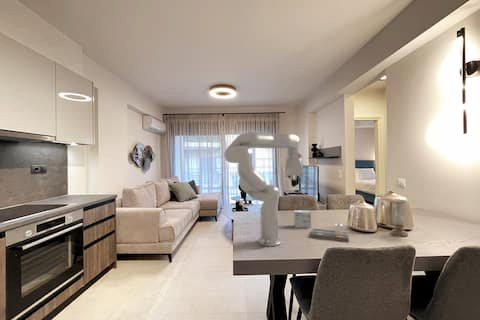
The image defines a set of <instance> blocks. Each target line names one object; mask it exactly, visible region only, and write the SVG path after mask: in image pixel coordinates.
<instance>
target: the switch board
mask: <svg viewBox="0 0 480 320" xmlns="http://www.w3.org/2000/svg"><path fill="white" fill-rule="evenodd" d="M310 238H312V239H319V238H320V239H321V240H329V241H336V242H347V243H349V242H350V237H349V232H348V231H347V230H343V234H342V233H335V229H328V228H327V229H326V228H320V227H319V228H317V227H313V228H312V230H311V233H310Z"/></svg>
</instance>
